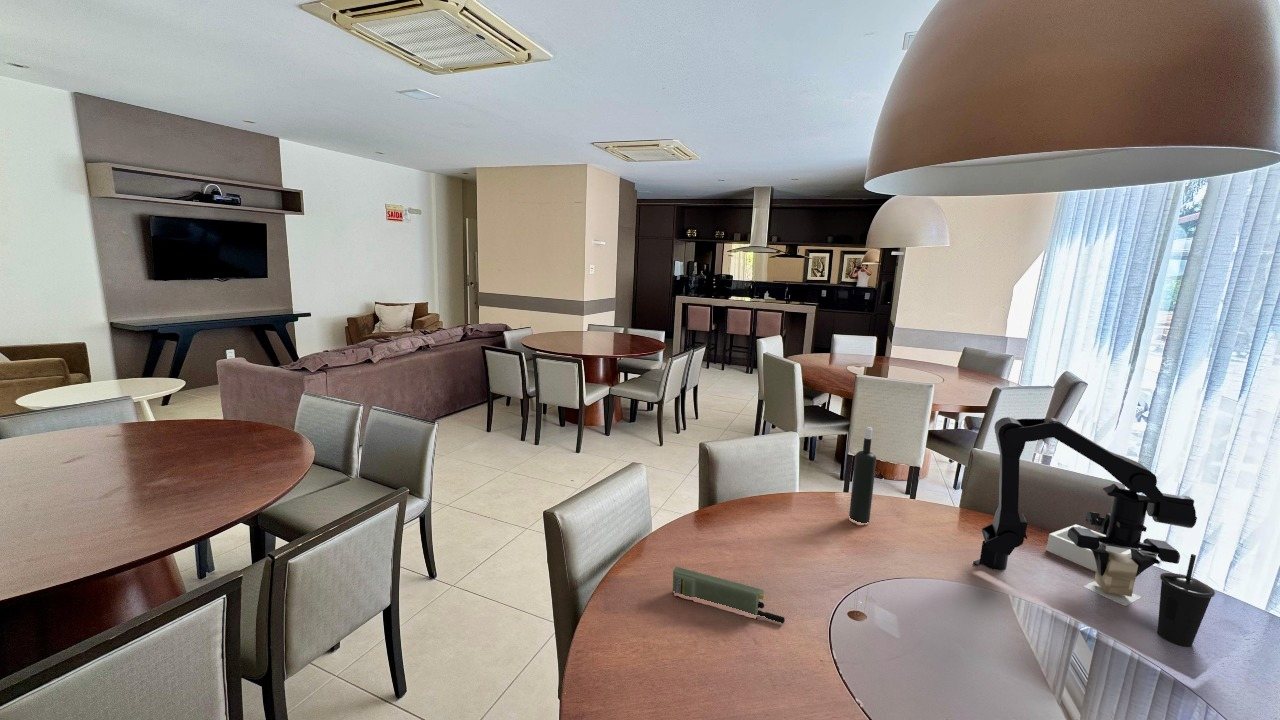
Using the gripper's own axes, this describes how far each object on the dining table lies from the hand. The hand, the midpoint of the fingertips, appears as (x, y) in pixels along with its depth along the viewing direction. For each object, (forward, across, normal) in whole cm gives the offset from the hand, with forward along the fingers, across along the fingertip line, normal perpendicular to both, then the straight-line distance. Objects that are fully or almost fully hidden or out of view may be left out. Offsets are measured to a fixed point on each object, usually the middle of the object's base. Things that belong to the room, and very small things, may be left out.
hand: (1114, 577), depth 120 cm
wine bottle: (+5, +55, -17) cm, 57 cm away
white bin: (+5, -3, -17) cm, 18 cm away
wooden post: (+3, 0, 0) cm, 3 cm away
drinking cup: (+5, -4, +15) cm, 17 cm away
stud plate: (+5, 0, 0) cm, 5 cm away
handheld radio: (+6, +85, +39) cm, 94 cm away
